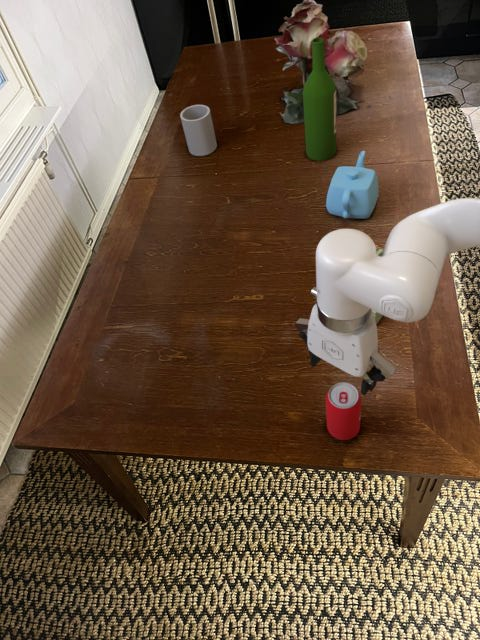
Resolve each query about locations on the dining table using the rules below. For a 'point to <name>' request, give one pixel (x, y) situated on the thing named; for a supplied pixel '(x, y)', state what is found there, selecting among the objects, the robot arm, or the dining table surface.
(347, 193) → the teapot
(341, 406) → the beverage can
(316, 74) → the wine bottle
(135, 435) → the dining table surface
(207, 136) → the cup
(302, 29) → the rose bouquet
